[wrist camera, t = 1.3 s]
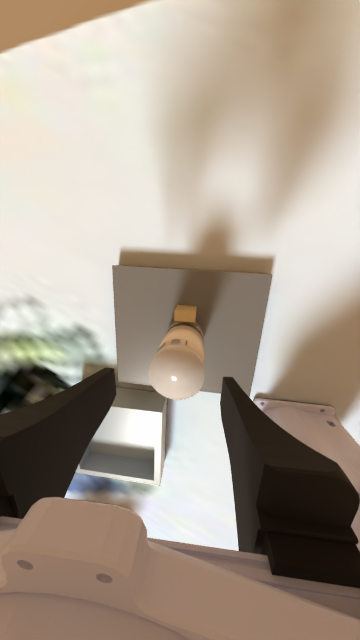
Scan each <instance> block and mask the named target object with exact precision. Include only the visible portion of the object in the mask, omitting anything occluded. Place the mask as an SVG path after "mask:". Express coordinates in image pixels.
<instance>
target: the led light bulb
mask: <svg viewBox="0 0 360 640" xmlns="http://www.w3.org/2000/svg"><path fill="white" fill-rule="evenodd" d="M148 375H149V380H150V383H151V385H152V386H153V388H154V389H155V390H156V391H157V392H158V393H159V394H161V395H163V396H164V397H167V398H170V399H175V400H182V399H187V398H190V397H192V396H194V395H195V394H196V393H198V392H199V390H200V389H201V388H202V386H203V383H204V335H203V330H202V328H201V326H200V325H199V324H198V323H197V322H196V321H195V322H183V321H174V322H173V323H172V324H171V325H170V326H169V328H168V330H167V332H166V334H165V336H164V338H163V340H162V342H161V344H160V346H159V348H158V350H157V352H156V354H155V356H154V358H153V360H152V362H151V364H150V366H149V372H148Z"/></svg>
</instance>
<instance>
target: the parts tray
mask: <svg viewBox="0 0 360 640" xmlns="http://www.w3.org/2000/svg"><path fill="white" fill-rule="evenodd" d="M166 413H167V397H164V396H163V395H161V394H159V393H158V392H154V391H145V390H136V389H128V388H119V387H116V397H115V399H114V401H113V404H112V406H111V408H110V410H109V412H108V413H107V415H106V417H105V418H104V420H103V422H102V423H101V425H100V427H99V428H98V430H97V431H96V433H95V435H94V436H93V438H92V440H91V441H90V443H89V445H88V447H87V449H86V451H85V453H84V455H83V457H82V459H81V461H80V463H79V465H78V467H77V470H76V473H82V474H89V475H95V476H101V477H108V478H114V479H120V480H126V481H133V482H139V483H145V484H151V485H158V486H160V483H161V478H162V472H163V467H164V462H165V440H166Z"/></svg>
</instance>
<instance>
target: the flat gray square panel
mask: <svg viewBox="0 0 360 640" xmlns="http://www.w3.org/2000/svg"><path fill="white" fill-rule="evenodd" d="M112 269H113V289H114V308H115V328H116V348H117V368H118V382H124V383H133V384H141V385H150V386H152V385H151V383H150V380H149V375H148V372H149V366H150V364H151V362H152V360H153V358H154V356H155V354H156V352H157V350H158V348H159V346H160V344H161V342H162V340H163V338H164V336H165V334H166V332H167V330H168V328H169V326H170V325H171V324H172V323H173V322H174V321H183V322H195V321H196V322H197V323H198V324H199V325H200V326H201V328H202V330H203V335H204V383H203V386H202V388H201V389H200V390H199V391H204V392H213V393H221V391H222V381H223V377H233V378H234V379H235V381H236V382H237V383H238V384H239V386H240V387H241V388H242V390H243V391H244V392H245V393H246V394H247V395H248V397H250V392H251V386H252V381H253V376H254V370H255V365H256V360H257V354H258V349H259V344H260V338H261V333H262V328H263V322H264V317H265V311H266V306H267V301H268V295H269V290H270V285H271V279H272V274H263V273H246V272H228V271H210V270H193V269H175V268H157V267H140V266H122V265H113V266H112Z"/></svg>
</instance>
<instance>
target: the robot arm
mask: <svg viewBox="0 0 360 640" xmlns="http://www.w3.org/2000/svg"><path fill="white" fill-rule="evenodd" d="M115 397H116V384H115V374H114V369H112V368H104V369H102V370H100V371H98V372H97V373H95V374H93V375H91V376H90V377H88V378H86V379H84V380H83V381H81V382H79V383H77V384H75V385H73V386H72V387H70V388H68V389H66V390H64V391H62V392H60V393H58V394H56V395H53V396H51V397H49V398H47V399H44V400H42V401H39V402H37V403H34V404H31V405H29V406H26V407H23V408H20V409H17V410H14V411H11V412H8V413H4V414H1V415H0V640H360V446H359V444H358V443H357V442H356V441H355V440H354V439H353V437H352V436H351V435H350V434H349V433H348V432H347V430H346V429H345V428H344V427H343V426H342V425H341V423H340V422H339V421H338V420H337V419H336V418H335V413H336V410H335V409H334V408H333V407H332V406H324V405H315V404H306V403H297V402H288V401H280V400H271V399H262V398H256V399H254V401H252V400H251V399H250V398H249V397H248V395H247V394H246V393H245V392H244V391H243V390H242V388H241V387H240V386H239V384H238V383H237V382H236V381H235V379H234V378H233V377H223V381H222V391H221V401H220V406H221V417H222V423H223V428H224V433H225V438H226V443H227V448H228V453H229V458H230V464H231V473H232V482H233V492H234V501H235V512H236V523H237V534H238V546H239V551H234V550H227V549H220V548H214V547H207V546H200V545H193V544H187V543H180V542H173V541H166V540H160V539H153V538H147V530H146V527H145V525H144V523H143V521H142V519H141V517H140V516H139V515H137V514H136V513H135V512H133V511H132V510H131V509H128V508H124V507H121V506H118V505H111V504H104V503H97V502H89V501H82V500H74V499H67V498H64V497H65V494H66V492H67V490H68V487H69V485H70V483H71V481H72V478H73V476H74V474H75V472H76V470H77V467H78V465H79V463H80V461H81V459H82V457H83V455H84V453H85V451H86V449H87V447H88V445H89V443H90V441H91V440H92V438H93V436H94V435H95V433H96V431H97V430H98V428H99V427H100V425H101V423H102V422H103V420H104V418H105V417H106V415H107V413H108V412H109V410H110V408H111V406H112V404H113V401H114V399H115ZM261 402H264V403H261ZM321 409H323V410H321Z"/></svg>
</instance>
